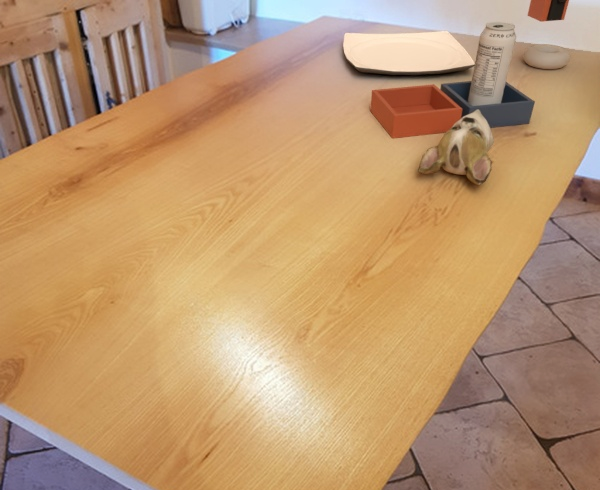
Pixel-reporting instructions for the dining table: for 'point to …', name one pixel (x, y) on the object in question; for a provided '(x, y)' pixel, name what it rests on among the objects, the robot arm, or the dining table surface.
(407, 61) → the plate
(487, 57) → the energy drink can
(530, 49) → the donut
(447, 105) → the clay bin
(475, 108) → the slate bin
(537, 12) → the terracotta block
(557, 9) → the robot arm
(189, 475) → the dining table surface
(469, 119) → the ceramic sculpture
